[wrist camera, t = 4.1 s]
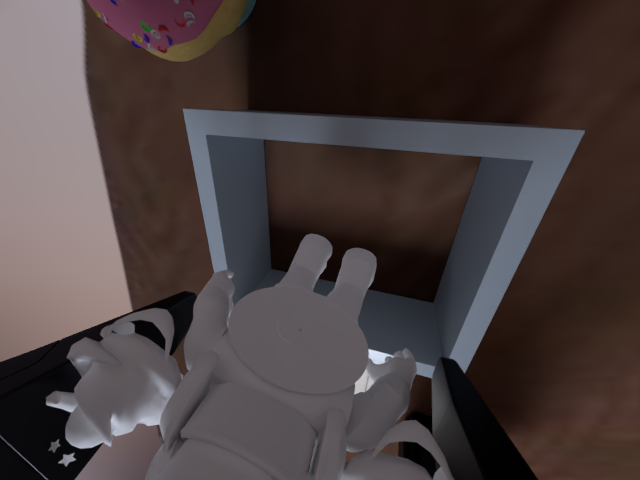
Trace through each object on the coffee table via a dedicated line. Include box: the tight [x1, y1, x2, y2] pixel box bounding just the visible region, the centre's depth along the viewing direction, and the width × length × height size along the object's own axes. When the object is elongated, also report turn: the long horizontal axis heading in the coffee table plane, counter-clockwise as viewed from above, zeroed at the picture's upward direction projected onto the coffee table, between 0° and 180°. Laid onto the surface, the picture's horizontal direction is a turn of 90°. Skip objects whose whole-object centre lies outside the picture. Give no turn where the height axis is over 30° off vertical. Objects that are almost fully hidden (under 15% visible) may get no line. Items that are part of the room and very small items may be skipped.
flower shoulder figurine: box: [46, 234, 455, 480], centre depth 7 cm, size 9×4×12 cm, turn 76°
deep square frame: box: [183, 109, 585, 378], centre depth 15 cm, size 15×13×6 cm
